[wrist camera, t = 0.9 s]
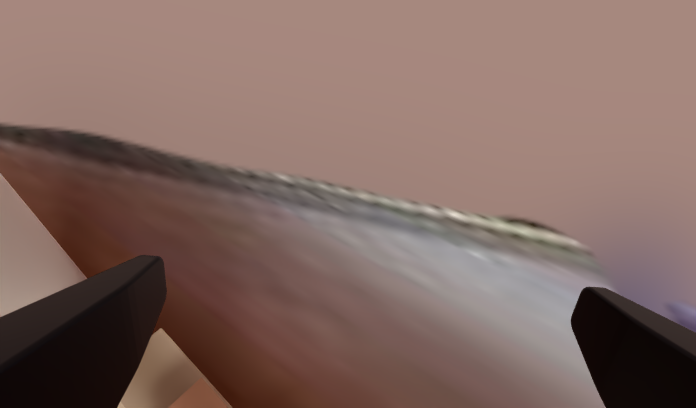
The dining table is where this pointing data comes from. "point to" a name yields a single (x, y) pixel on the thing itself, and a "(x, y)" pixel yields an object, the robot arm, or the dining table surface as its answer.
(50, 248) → the plug
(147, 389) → the socket board
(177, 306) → the dining table surface
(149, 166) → the dining table surface
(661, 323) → the robot arm
